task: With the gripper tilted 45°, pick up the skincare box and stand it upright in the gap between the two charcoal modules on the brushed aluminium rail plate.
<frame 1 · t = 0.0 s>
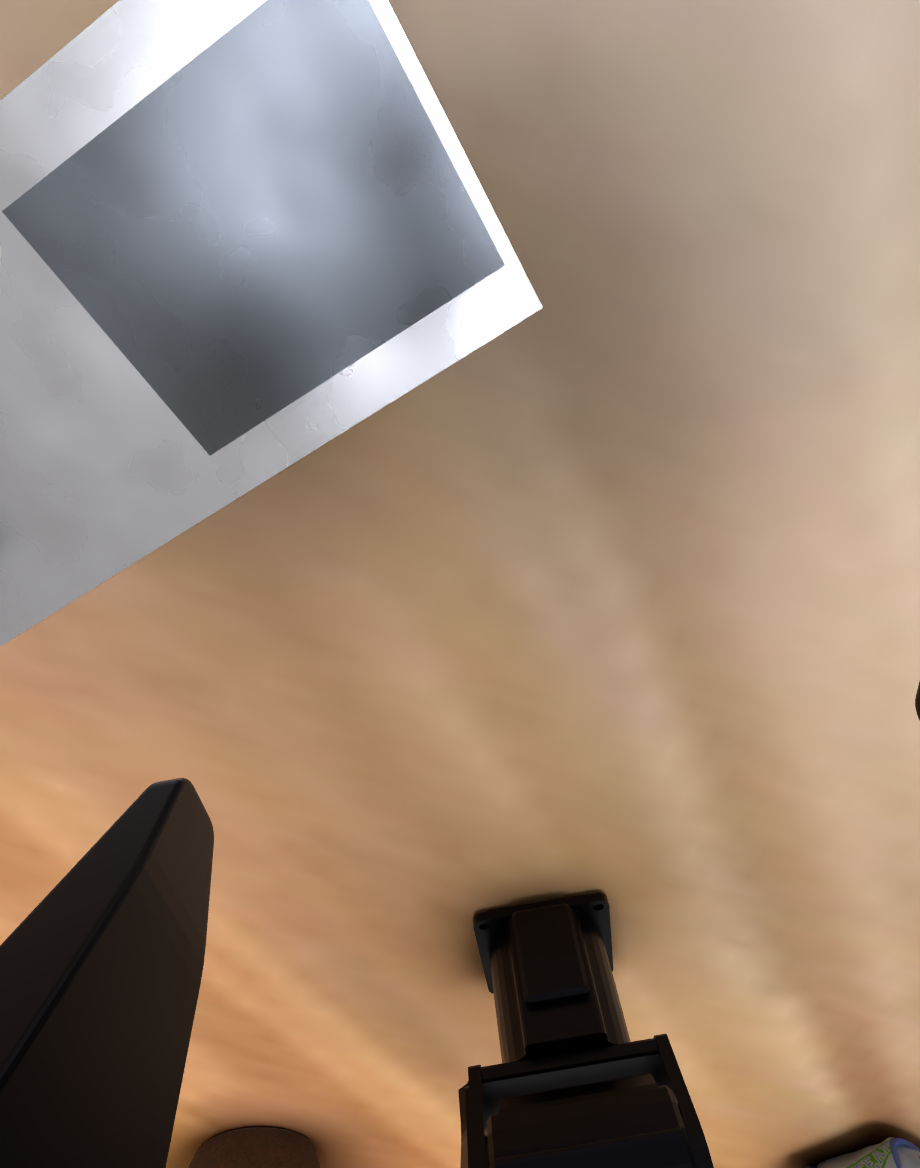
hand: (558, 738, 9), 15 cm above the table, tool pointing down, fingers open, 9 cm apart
rail plate: (32, 401, 20), on the table
plant pot: (259, 1148, 46), on the table
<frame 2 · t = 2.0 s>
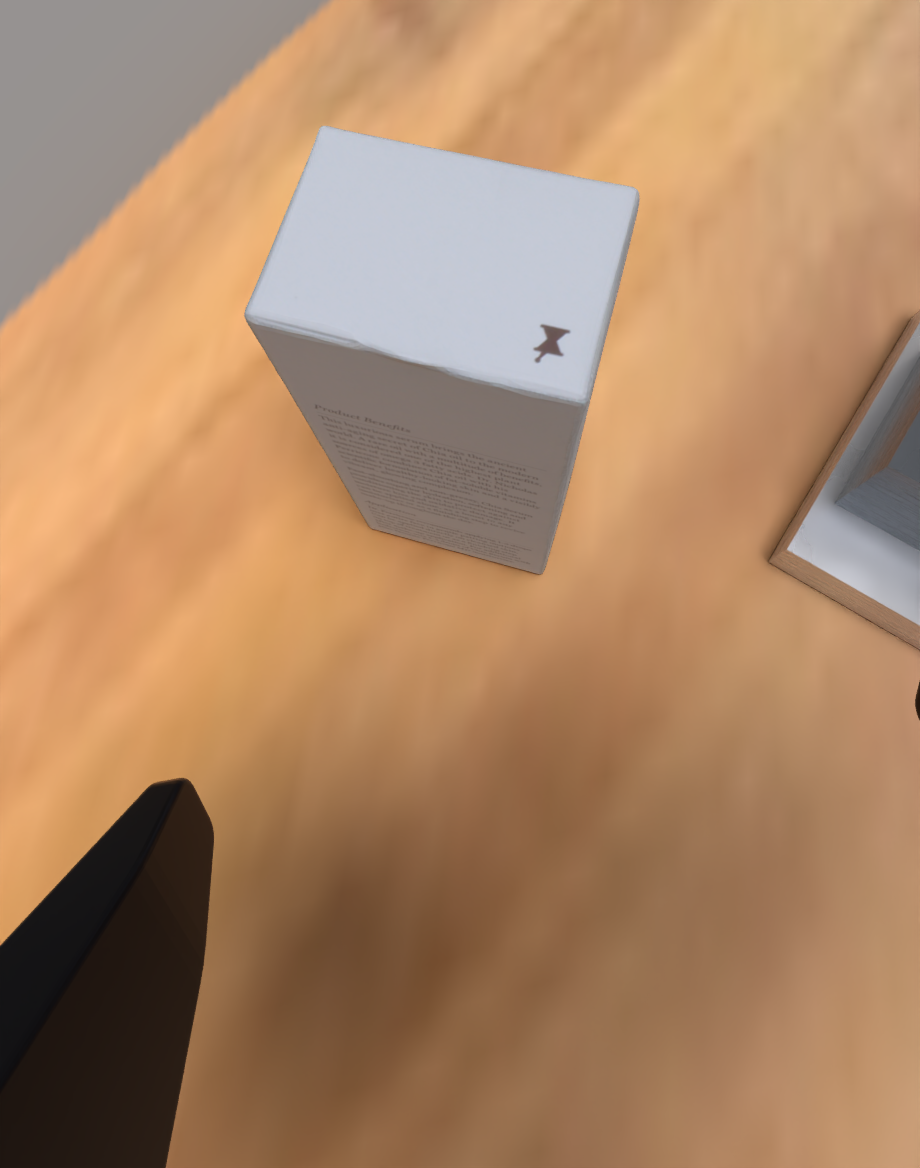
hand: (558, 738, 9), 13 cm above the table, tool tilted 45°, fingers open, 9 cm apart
skincare box: (470, 495, 24), on the table
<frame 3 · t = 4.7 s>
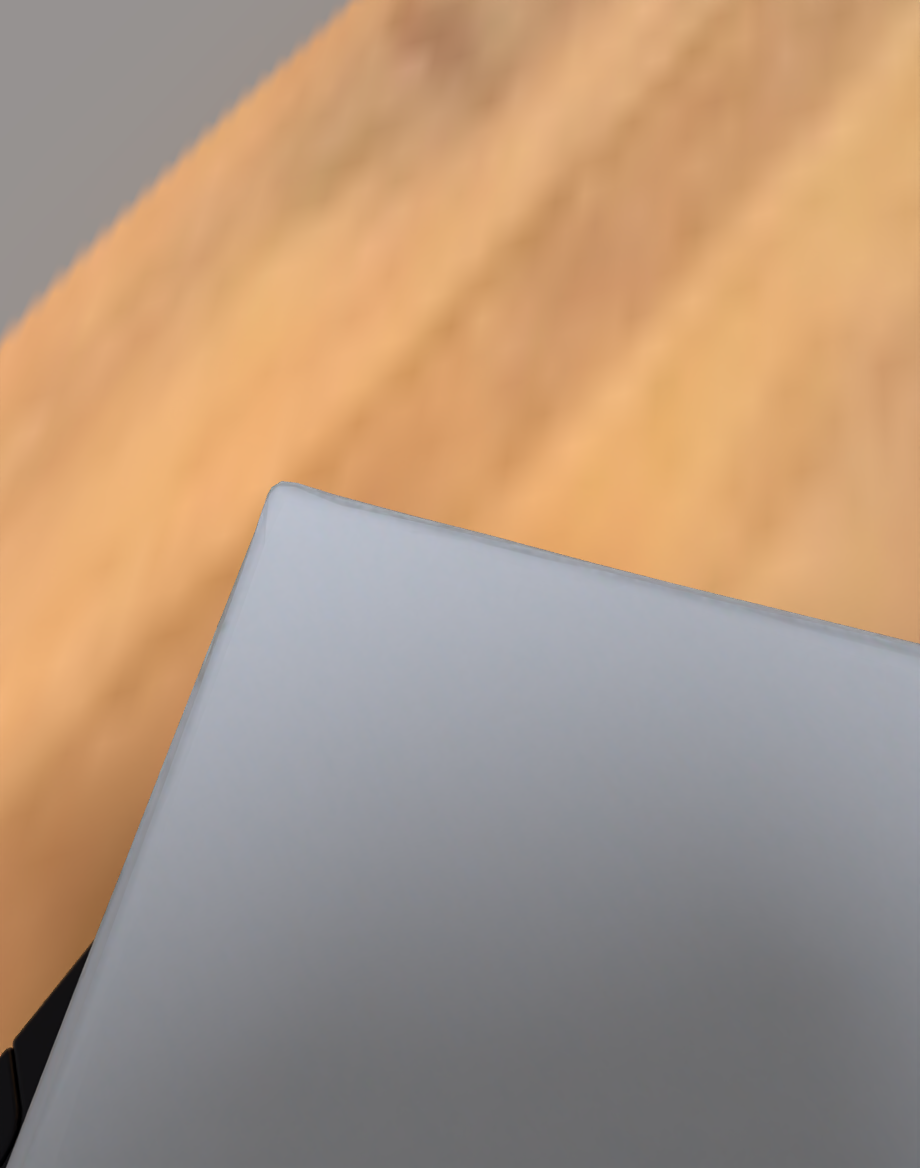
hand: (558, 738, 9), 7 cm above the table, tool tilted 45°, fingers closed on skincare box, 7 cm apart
skincare box: (543, 808, 15), on the table, touching gripper
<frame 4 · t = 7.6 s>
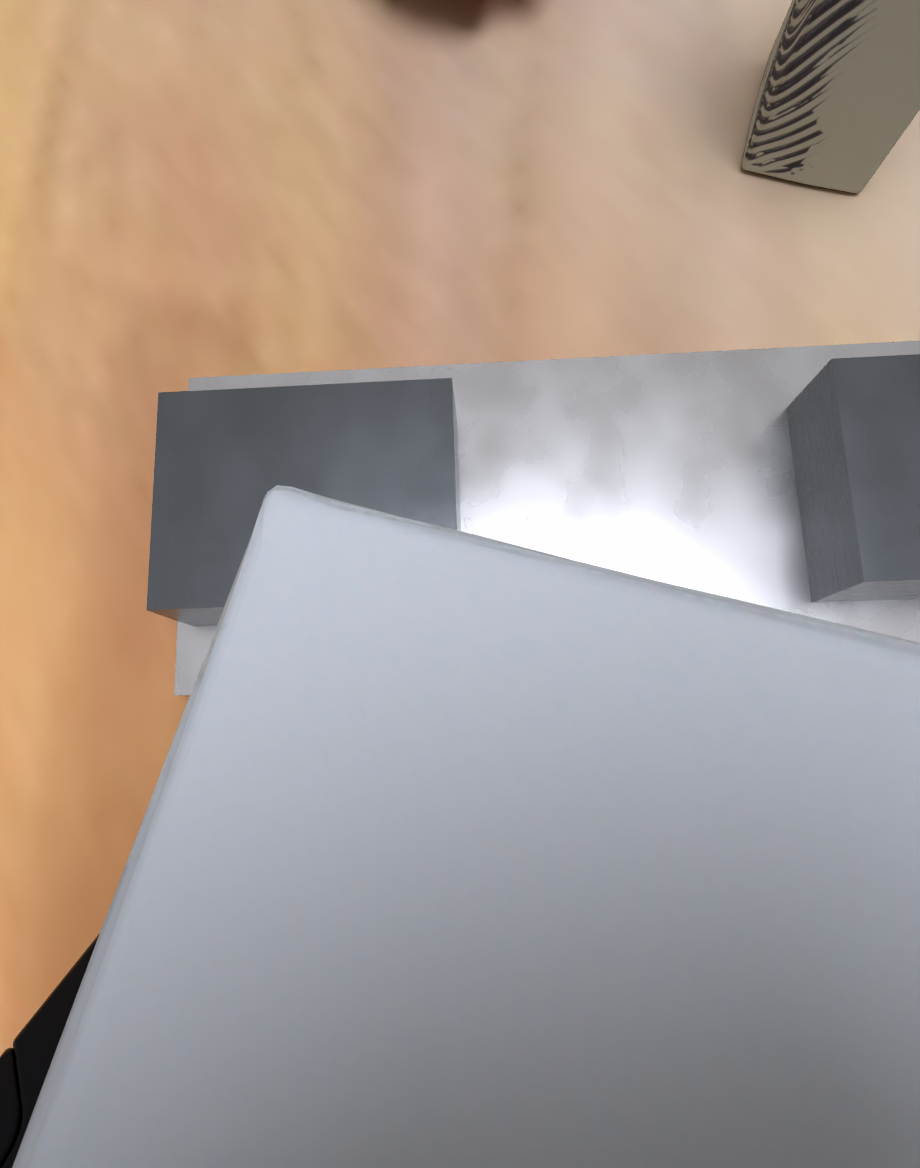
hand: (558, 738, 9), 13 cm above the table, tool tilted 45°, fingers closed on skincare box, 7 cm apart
rail plate: (619, 524, 23), on the table
skincare box: (540, 803, 15), point 6 cm above the table, touching gripper
box: (810, 135, 26), on the table
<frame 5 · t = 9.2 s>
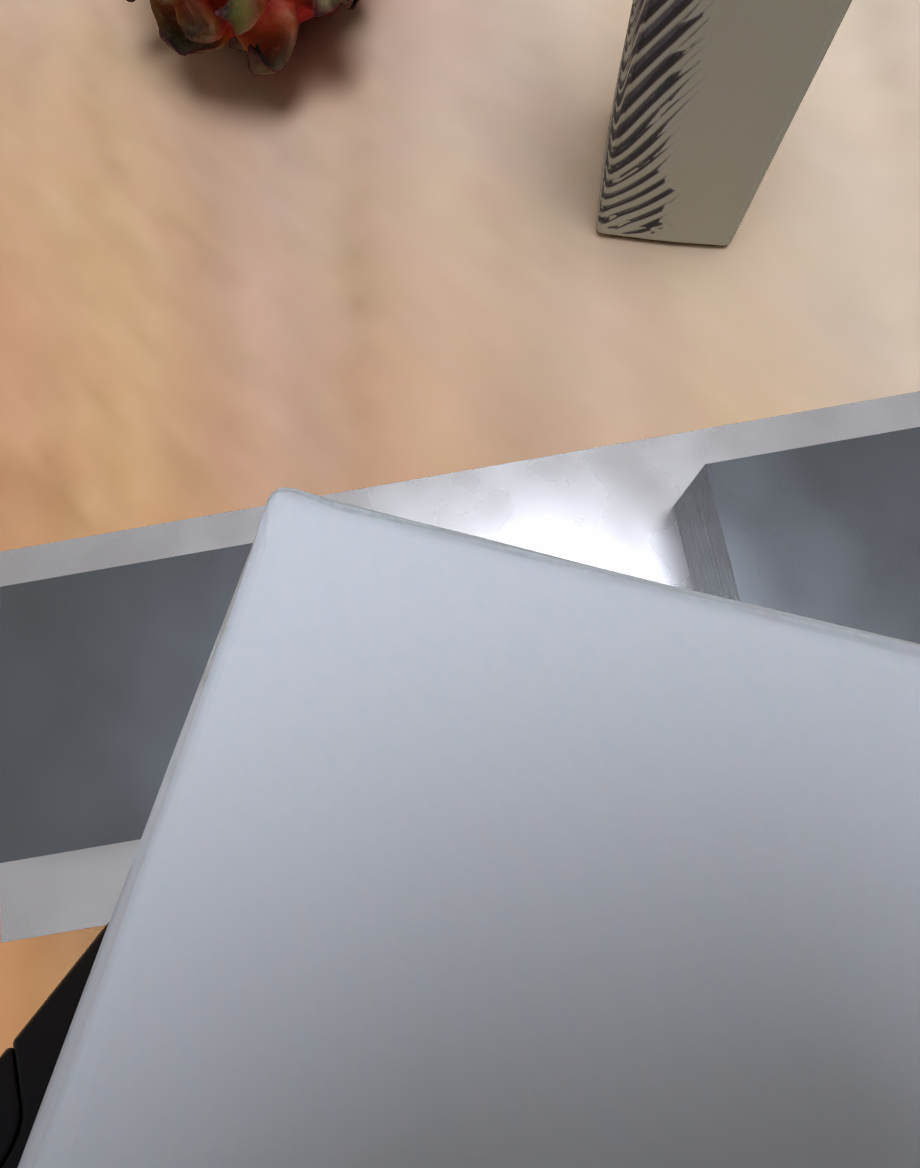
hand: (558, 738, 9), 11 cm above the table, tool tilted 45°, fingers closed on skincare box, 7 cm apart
rail plate: (507, 655, 20), on the table
dragon fruit: (269, 2, 26), on the table
skincare box: (542, 804, 15), point 4 cm above the table, touching gripper
box: (668, 185, 23), on the table
when the fingers open (9 cm above the table, at t = 10.5 s): skincare box stays where it is, resting on rail plate.
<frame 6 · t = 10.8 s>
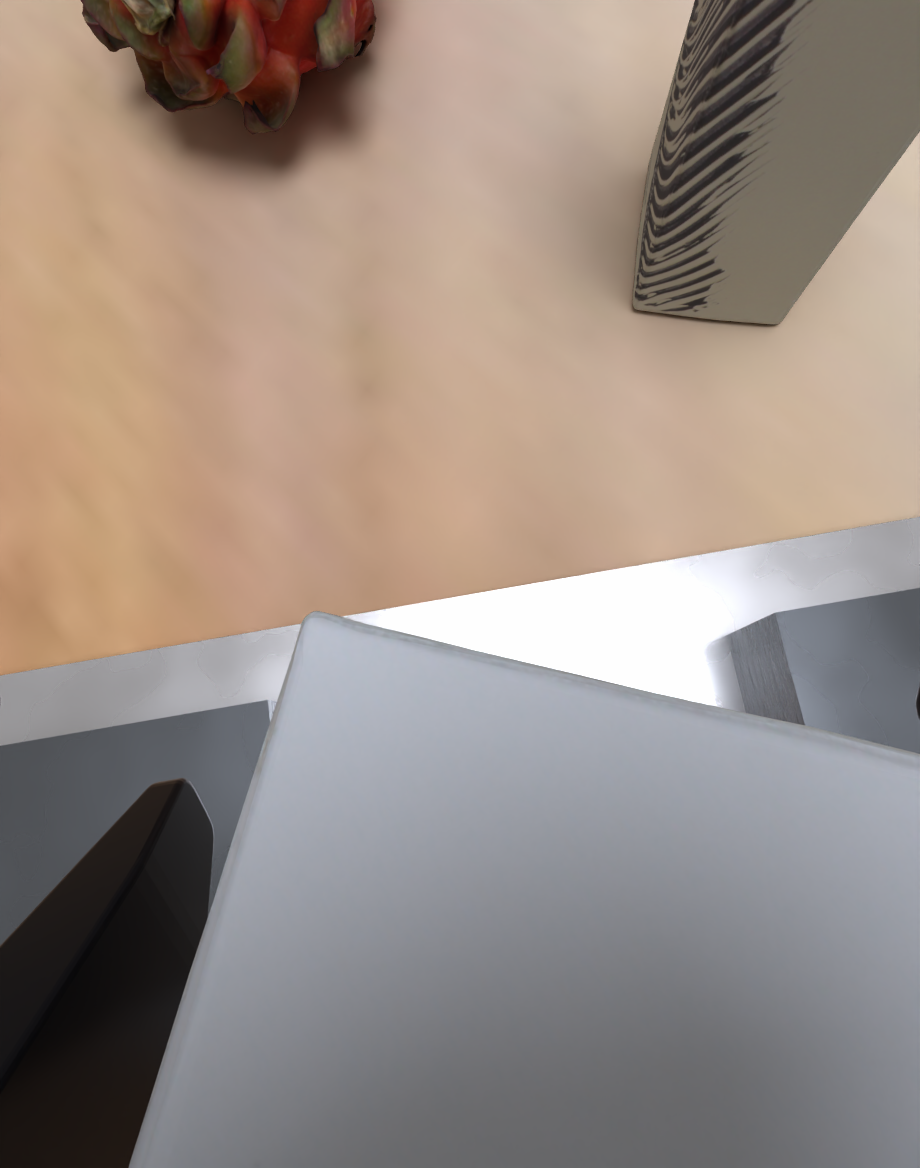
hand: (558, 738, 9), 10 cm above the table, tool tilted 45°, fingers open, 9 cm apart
rail plate: (536, 797, 18), on the table
dragon fruit: (268, 46, 23), on the table
skincare box: (540, 810, 16), point 1 cm above the table, touching rail plate
box: (711, 254, 21), on the table
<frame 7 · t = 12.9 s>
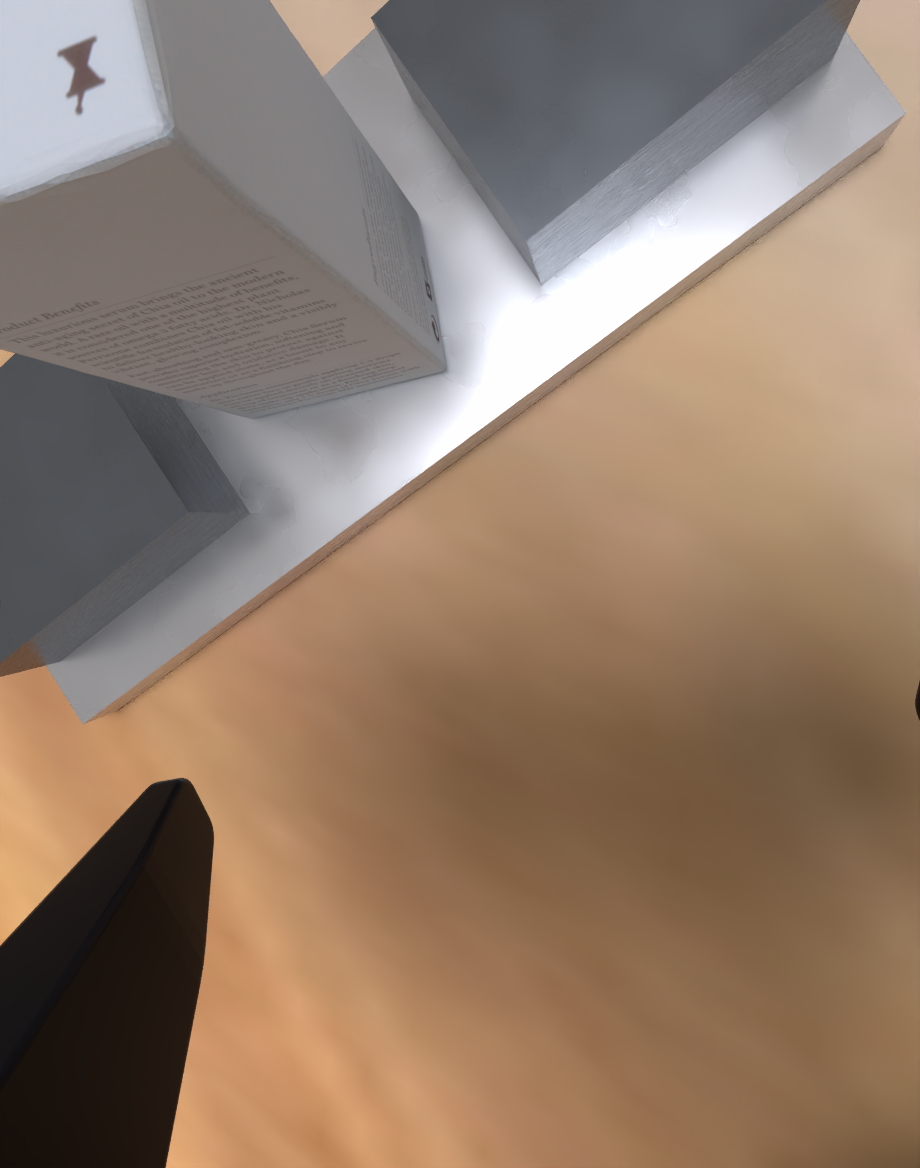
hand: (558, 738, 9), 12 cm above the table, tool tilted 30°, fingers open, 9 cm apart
rail plate: (346, 329, 21), on the table
skincare box: (332, 323, 20), point 1 cm above the table, touching rail plate
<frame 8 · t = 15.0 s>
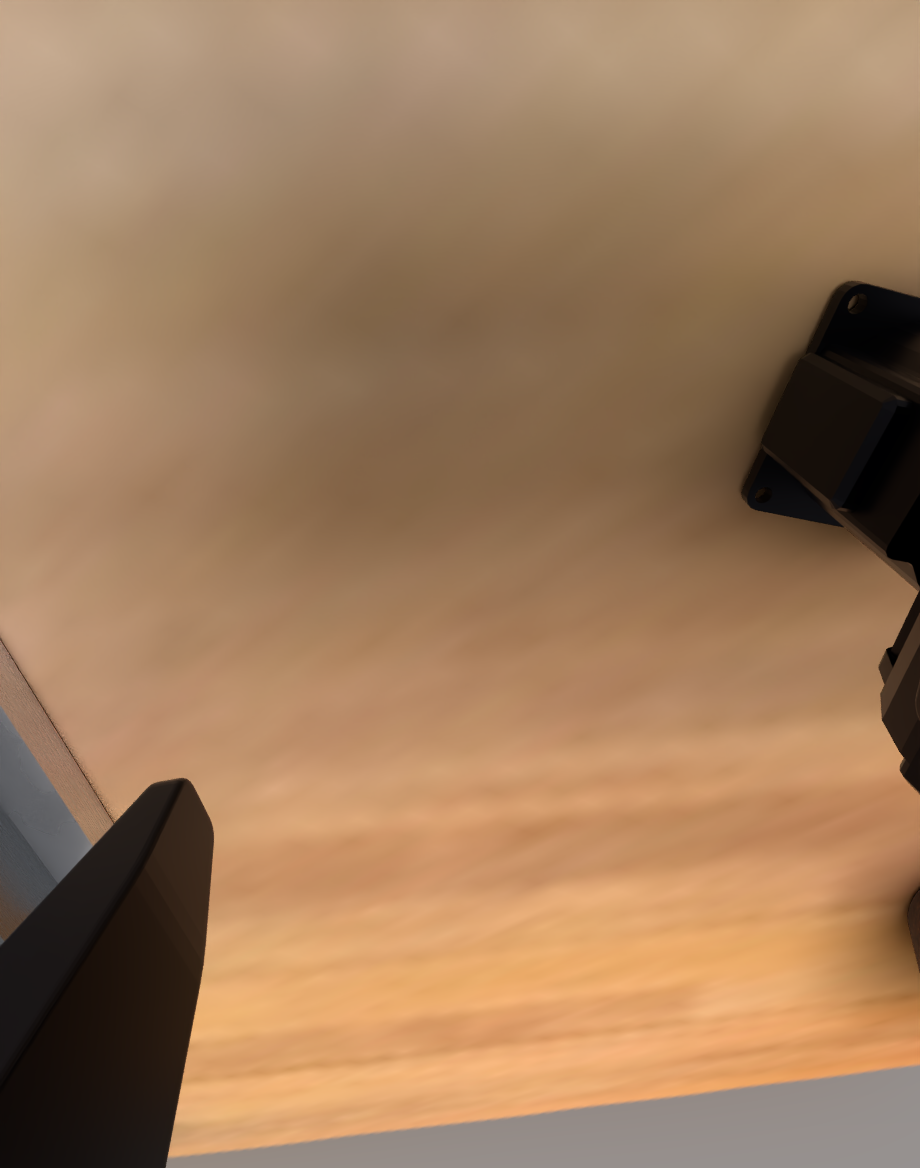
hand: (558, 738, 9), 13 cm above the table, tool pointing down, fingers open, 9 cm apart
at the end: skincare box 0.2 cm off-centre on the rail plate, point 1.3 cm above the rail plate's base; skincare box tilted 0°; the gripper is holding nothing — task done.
